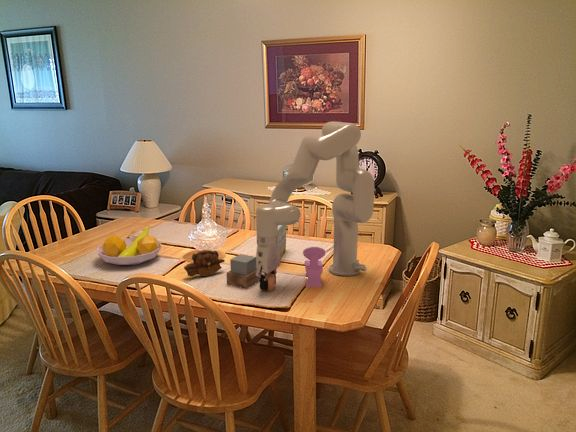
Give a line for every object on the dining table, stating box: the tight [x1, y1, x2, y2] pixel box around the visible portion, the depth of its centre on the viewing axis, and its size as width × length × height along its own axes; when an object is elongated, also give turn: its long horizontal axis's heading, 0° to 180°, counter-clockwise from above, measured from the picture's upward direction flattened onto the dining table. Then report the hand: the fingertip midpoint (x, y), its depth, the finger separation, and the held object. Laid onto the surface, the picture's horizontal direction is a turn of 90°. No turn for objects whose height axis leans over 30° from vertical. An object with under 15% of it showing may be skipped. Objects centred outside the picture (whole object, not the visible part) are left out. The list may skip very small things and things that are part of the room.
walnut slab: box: [226, 269, 260, 290], centre depth 180 cm, size 9×9×5 cm
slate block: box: [229, 253, 256, 276], centre depth 179 cm, size 7×7×5 cm
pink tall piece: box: [302, 246, 326, 288], centre depth 180 cm, size 8×9×15 cm
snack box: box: [278, 225, 287, 260], centre depth 206 cm, size 21×6×15 cm, turn 168°
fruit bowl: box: [96, 225, 163, 266], centre depth 204 cm, size 28×27×11 cm
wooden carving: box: [183, 249, 225, 278], centre depth 186 cm, size 16×5×10 cm, turn 126°
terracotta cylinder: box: [262, 273, 276, 292], centre depth 174 cm, size 5×5×5 cm
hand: (267, 286), depth 175 cm, fingers closed on terracotta cylinder, 4 cm apart
